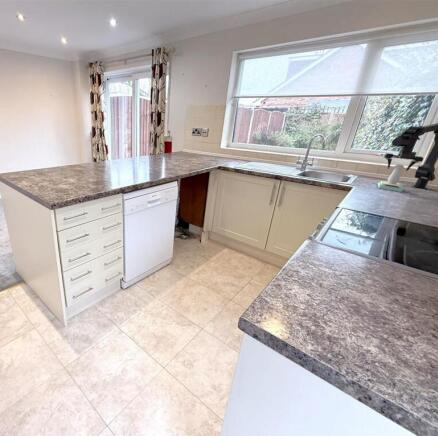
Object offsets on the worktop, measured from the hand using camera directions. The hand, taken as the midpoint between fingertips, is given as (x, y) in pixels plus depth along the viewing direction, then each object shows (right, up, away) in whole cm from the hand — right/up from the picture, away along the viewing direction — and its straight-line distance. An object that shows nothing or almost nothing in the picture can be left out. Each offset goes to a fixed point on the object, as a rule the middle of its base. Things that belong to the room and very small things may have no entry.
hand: (397, 169), depth 169 cm
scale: (-2, -12, +4) cm, 13 cm away
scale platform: (-1, -10, +4) cm, 10 cm away
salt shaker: (0, -9, +3) cm, 10 cm away
